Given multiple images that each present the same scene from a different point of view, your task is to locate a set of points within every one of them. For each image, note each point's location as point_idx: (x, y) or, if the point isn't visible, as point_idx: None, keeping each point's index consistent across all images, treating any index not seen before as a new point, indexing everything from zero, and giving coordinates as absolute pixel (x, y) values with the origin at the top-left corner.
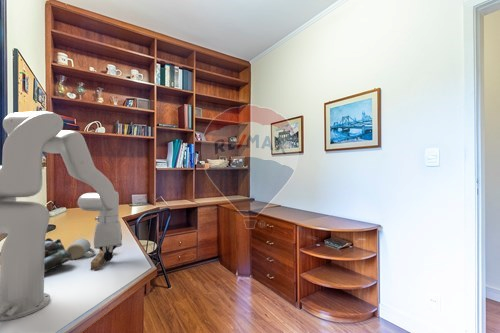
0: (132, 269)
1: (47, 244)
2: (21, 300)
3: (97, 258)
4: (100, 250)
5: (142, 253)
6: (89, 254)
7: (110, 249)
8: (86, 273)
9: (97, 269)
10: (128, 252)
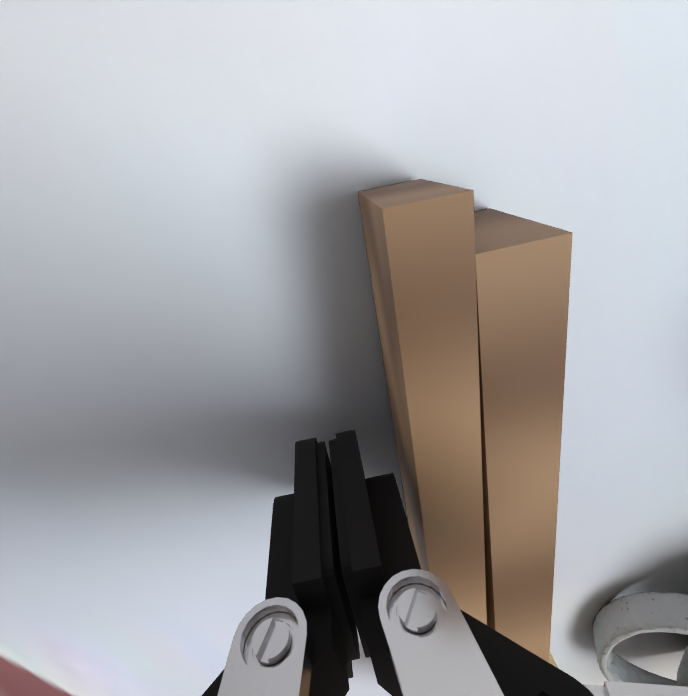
0: None
1: None
2: None
3: (496, 436)
4: None
5: (59, 683)
6: (649, 619)
7: (268, 686)
8: (513, 49)
9: (372, 189)
10: None
